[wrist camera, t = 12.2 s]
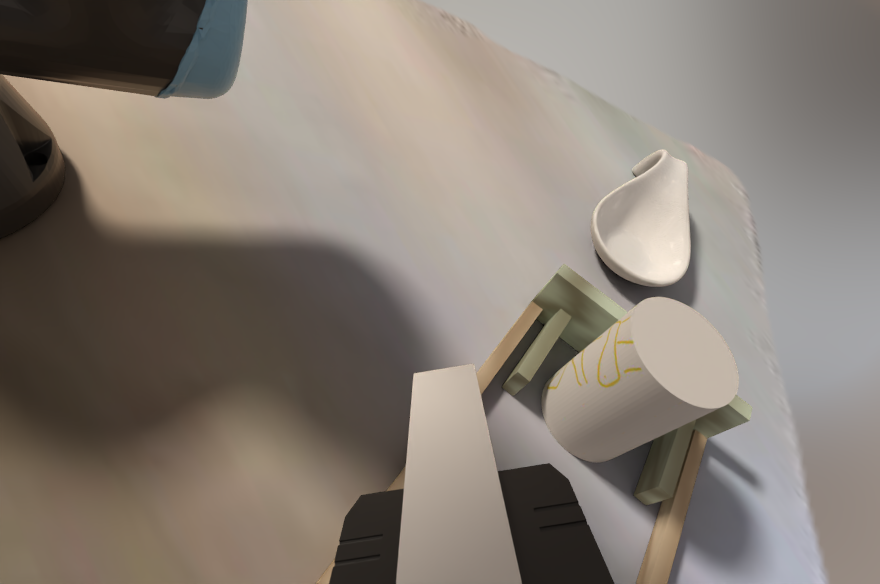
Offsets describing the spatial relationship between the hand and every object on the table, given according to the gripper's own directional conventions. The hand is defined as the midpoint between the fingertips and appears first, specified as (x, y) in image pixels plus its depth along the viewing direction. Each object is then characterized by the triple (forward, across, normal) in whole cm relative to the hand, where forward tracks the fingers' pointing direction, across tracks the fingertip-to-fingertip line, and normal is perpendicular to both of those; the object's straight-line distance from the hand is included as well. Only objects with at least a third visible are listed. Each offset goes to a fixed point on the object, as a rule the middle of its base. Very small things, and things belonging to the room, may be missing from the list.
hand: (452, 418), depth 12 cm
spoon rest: (+47, +23, -5) cm, 53 cm away
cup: (+26, +10, -16) cm, 32 cm away
